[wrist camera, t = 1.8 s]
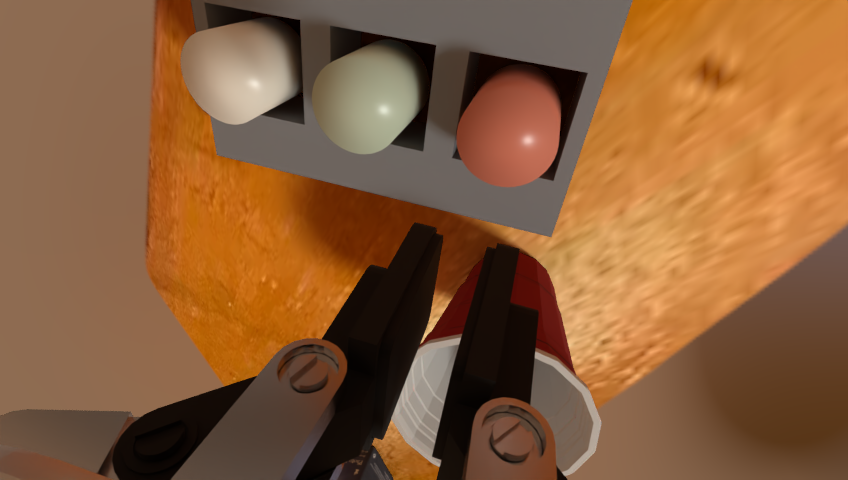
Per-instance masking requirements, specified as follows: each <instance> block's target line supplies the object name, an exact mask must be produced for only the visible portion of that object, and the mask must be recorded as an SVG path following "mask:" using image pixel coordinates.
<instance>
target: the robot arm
mask: <svg viewBox="0 0 848 480" xmlns="http://www.w3.org/2000/svg"><path fill="white" fill-rule="evenodd" d="M436 232H437V229H436V228H435V227H431V226H427V225H424V224H420V223H416V222H415V223H414V224H413V225H412V227H411V229H410V231H409V232H408V234H407V236H406V238H405V239H404V241H403V243H402V244H401V246H400V248H399V250H398V251H397V253H396V255H395V257H394V258H393V260H392V262H391V264H390V265H389V267H388V269H386V268H383V267H379V266H375V265H370V266H369V267H368V268H367V269H366V271H365V273H364V274H363V276H362V277H361V279H360V280H359V282H358V283H357V285H356V287H355V288H354V290H353V291H352V293H351V294H350V296H349V297H348V299H347V301H346V302H345V304H344V305H343V307H342V308H341V310H340V311H339V313H338V315H337V316H336V318H335V319H334V321H333V322H332V324H331V325H330V327H329V329H328V330H327V332H326V333H325V335H324V336H323V338H322V339H318V338H313V339H302V340H298V341H294V342H292V343H290V344H288V345H287V346H285V347H283V348H282V349H281V350H280V351H279V352H278V353H277V354H275V356H274V357H273V358H272V359H271V360H270V362H269V363H268V364H267V365H266V366H265V368H264V369H263V370H262V371H261V372H260V373H259V375H258V376H255V377H252V378H249V379H246V380H243V381H240V382H237V383H234V384H231V385H228V386H225V387H222V388H219V389H216V390H212V391H209V392H206V393H203V394H200V395H198V396H194V397H191V398H188V399H185V400H182V401H179V402H176V403H173V404H170V405H167V406H164V407H161V408H158V409H156V410H154V411H151V412H149V413H147V414H145V415H143V416H142V417H133V415H132V413H131V412H123V411H79V410H78V411H77V410H32V409H27V410H19V411H12V412H9V413H6V414H4V415H1V416H0V480H337V479H338V477H339V475H340V473H341V471H342V469H343V466H344V463H345V462H347V461H349V460H351V459H354V458H356V457H358V456H360V453H361V451H362V449H363V450H366V451H368V452H369V450H370V448H371V445H372V443H373V440H374V438H378V439H381V440H382V439H383V438H384V436H385V433H386V431H387V428H388V426H389V423H390V420H391V418H392V415H393V413H394V410H395V408H396V405H397V402H398V400H399V397H400V395H401V392H402V389H403V387H404V384H405V382H406V379H407V376H408V374H409V371H410V369H411V366H412V364H413V361H414V358H415V356H416V353H417V351H418V348H419V345H420V343H421V340H422V338H423V335H424V333H425V330H426V327H427V324H428V321H429V317H430V313H431V307H432V301H433V295H434V289H435V284H436V278H437V272H438V266H439V260H440V254H441V248H442V242H443V235H439V234H436ZM519 250H520V249H518V248H515V247H511V246H507V245H503V244H499V243H497V247H496V249H494V248H490V247H487V250H486V253H485V256H484V260H483V263H482V267H481V270H480V274H479V277H478V281H477V284H476V288H475V291H474V295H473V298H472V302H471V305H470V309H469V312H468V316H467V319H466V323H465V326H464V330H463V333H462V336H461V340H460V343H459V347H458V350H457V354H456V357H455V361H454V365H453V369H452V372H451V377H450V381H449V385H448V389H447V393H446V398H445V402H444V406H443V411H442V415H441V419H440V423H439V428H438V432H437V436H436V441H435V445H434V449H433V453H432V457H434V458H436V459H439V460H441V464H440V468H439V472H438V476H437V480H567V478H566V477H565V476H564V475H563V473H562V472H561V471H560V469H559V468H558V467H557V465H556V445H555V439H554V434H553V431H552V429H551V427H550V425H549V423H548V422H547V420H546V419H545V418H544V417H543V416H542V414H541V413H540V412H539V411H538V410H536V409H535V408H534V407H532V406H531V405H530V403H531V392H532V382H533V371H534V360H535V350H536V339H537V329H538V318H539V311H538V310H536V309H533V308H529V307H525V306H522V305H518V304H514V303H511V302H510V301H511V295H512V289H513V284H514V278H515V273H516V267H517V261H518V256H519Z"/></svg>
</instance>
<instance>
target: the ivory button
mask: <svg viewBox="0 0 848 480" xmlns="http://www.w3.org/2000/svg"><path fill="white" fill-rule="evenodd" d="M181 70H182V75H183V78H184V81H185V84H186V86H187V88H188V90H189V92H190V94H191V95H192V97H193V98H194V100H195V101H196V102H197V104H198V105H199V106H200V107H201V108H202V109H203V110H204V111H205V112H206V113H208V114H209V115H210V116H212V117H213V118H215V119H217V120H219V121H221V122H224V123H227V124H233V125H238V124H243V123H246V122H248V121H250V120H252V119H254V118H256V117H257V116H259V115H261V114H263V113H265V112H267V111H269V110H270V109H272V108H274V107H276V106H278V105H280V104H282V103H284V102H285V101H287V100H289V99H291V98H293V97H295V96H297V95H298V94H300V93H301V92H302V91H303V75H302V52H301V38H300V37H299V35H298V34H297V33H296V32H295V31H294V30H293V29H292V28H291V27H290V26H289V25H287V24H286V23H284V22H283V21H281V20H279V19H276V18H272V17H261V18H256V19H252V20H247V21H243V22H239V23H234V24H230V25H225V26H221V27H216V28H212V29H207V30H203V31H199V32H196V33H194V34H193V35H191V36H190V37H189V38H188V39H187V41H186V42H185V44H184V46H183V49H182V53H181Z"/></svg>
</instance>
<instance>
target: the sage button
mask: <svg viewBox="0 0 848 480" xmlns="http://www.w3.org/2000/svg"><path fill="white" fill-rule="evenodd" d="M428 94H429V77H428V72H427V69H426V67H425V65H424V63H423V61H422V59H421V58H420V57H419V55H418V54H417V53H416V52H415V51H414V50H413V49H412V48H410V47H409V46H407V45H406V44H404V43H402V42H399V41H396V40H390V39H384V40H378V41H375V42H373V43H371V44H369V45H367V46H364V47H362V48H360V49H358V50H356V51H354V52H352V53H350V54H348V55H345V56H343V57H341V58H339V59H337V60H335V61H333V62H331V63H329V64H328V65H327V66H325V67H324V68H323V69H322V70H321V71H320V73H319V74H318V76H317V78H316V80H315V82H314V86H313V91H312V106H313V110H314V114H315V117H316V119H317V122H318V124H319V125H320V127H321V129H322V130H323V132H324V133H325V134H326V135H327V137H328V138H329V139H330V140H331V141H333V142H334V143H335V144H336V145H338V146H339V147H341V148H343V149H345V150H347V151H349V152H353V153H357V154H372V153H376V152H378V151H381V150H383V149H384V148H386V147H387V146H388V145H389V144H390V143H391V142H392V141H393V140H394V139H395V138H396V137H397V136H398V135H399V134H400V133H401V132H402V131H403V129H404V128H405V127H406V126H407V125H408V124H409V123H410V122H411V121H412V120H413V119H414V118H415V117H416V116H417V114H418V113H419V112H420V111H421V110H422V109H423V107H424V105H425V103H426V101H427V98H428Z"/></svg>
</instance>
